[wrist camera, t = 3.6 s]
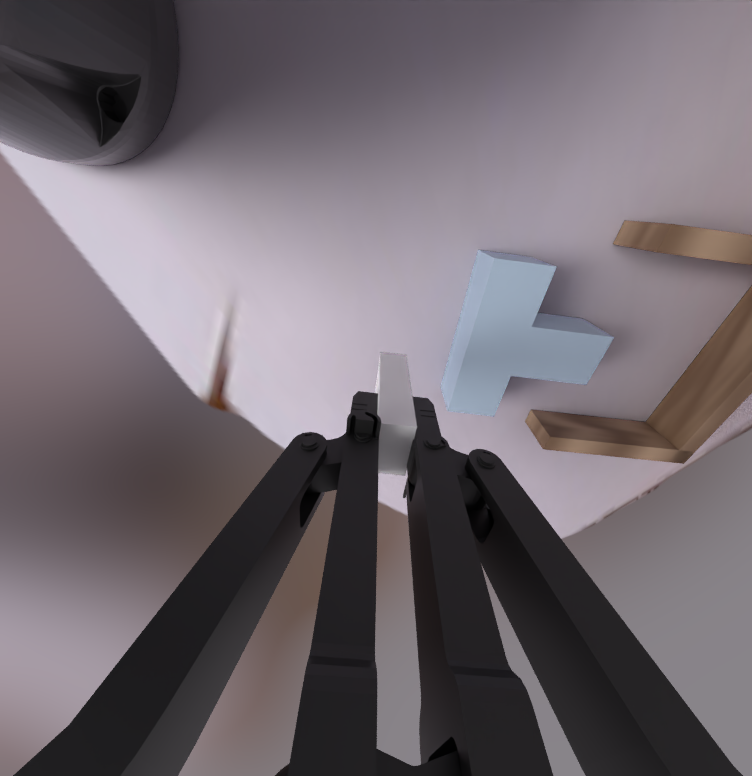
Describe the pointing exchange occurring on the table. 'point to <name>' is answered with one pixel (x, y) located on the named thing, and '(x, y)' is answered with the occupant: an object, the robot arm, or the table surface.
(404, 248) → the table surface
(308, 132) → the table surface
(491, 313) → the tee block
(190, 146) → the table surface
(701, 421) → the walnut corral
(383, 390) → the robot arm
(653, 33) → the table surface
